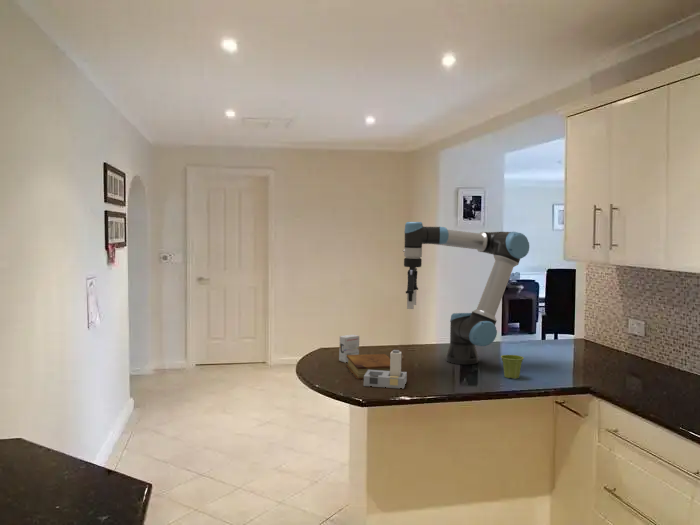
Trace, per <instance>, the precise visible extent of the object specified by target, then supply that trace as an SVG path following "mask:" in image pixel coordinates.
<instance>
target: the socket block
mask: <svg viewBox="0 0 700 525" xmlns="http://www.w3.org/2000/svg"><path fill="white" fill-rule="evenodd" d="M407 377H408V374H407V371H401V377H399V376H390V371H383V370H368V371H367V372H366V374H365V375H364V379H363V387H370V386H372V388H385V387H386V388H385V389H400V388H402V389H405V386H406V385H405V384H407V381H408V380H407V379H408V378H407ZM402 389H401V390H402Z"/></svg>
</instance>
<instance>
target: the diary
mask: <svg viewBox="0 0 700 525" xmlns="http://www.w3.org/2000/svg"><path fill="white" fill-rule="evenodd" d="M347 358H348V362H347V365H346V367H348V368H349V369H348V368H347V369H348V370H349V371H350V373H351V374H352V373H353V374H354V375H353V374H352V375H353V376H354V377H355V379H357V380H364V375H365V374H366V372H367V371H368V370H383V371H390V357H389V356H388V355H387V354H386V353H376V354H375V353H374V354H371V353H370V354H369V353H368V354H359V355H347Z"/></svg>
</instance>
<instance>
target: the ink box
mask: <svg viewBox="0 0 700 525" xmlns="http://www.w3.org/2000/svg"><path fill="white" fill-rule="evenodd" d="M338 347H339V351H338V353H339V354H338V361H340V362H342V363H344V364H346V362H347V363H348V358H347V355H360V335H358V334H357V335H356V334H346V335H340V336H339V346H338Z"/></svg>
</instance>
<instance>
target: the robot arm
mask: <svg viewBox="0 0 700 525" xmlns="http://www.w3.org/2000/svg"><path fill="white" fill-rule="evenodd" d="M423 245H437V246H444V247H445V246H446V247H454V248H462V249H471V250H477V251H478V252H479V253H485V254H488V255H493V258H494V263H493V266H492V268H491V271H490V274H489V276H488V278H487V282H486V283H485V287H484V289H483V292H482V294H481V297H480V300H479V302H478V304H477V307H476V309H474V310H472V311H471V312H456V313H455V312H454V313H452V314H451V315H450V321H449V322H450V327H449V328H450V329H449V330H450V332H449V333H450V334H449V335H450V337H449V346H448V349H447V352H446V354H445V361H446V362H447V361H448V362H447V363H450V362H451V364H454V363H455V364H457V365H474V364H478V363H479V355H478V352H477V349H476V346H477V347H478V346H479V347H487V346H489V345H491V344H492V343H493V342H494V341H495V340H496V338H497V334H498V330H497V327H496V324H497V321H498V320H497V318H496V314H497V312H498V308H499V306H500V303H501V302H502V298H503V296H504V293H505V290H506V287H507V285H508V283H509V280H510V277H511V274H512V273H513V269H514V268H515V267H516V266H517V267H518V265H519V264H520V261H521V259H522V258H523V259H524V257H526V256H527V255H528V254H529V251H530V242H529V239H528V237H527V236H526V235H525V234H524V233H522V232H518V231H488V232H487V231H480V232H470V231H461V230H453V229H448V228H447V227H444V226H424V224H423V222H422V221H407V222H405V224H404V247H403V248H404V249H403V250H402V251H403V253H404V254H403V255H404V259H403V266H404V267H405V268H409V269H408V271H407V285H406V286H407V290H406V291H405V294H407V295H406V299H407V301H406V309H407V310H414V306H417V291H419V287H418V285H417V284H418V282H417V279H418V268H422V261H423V260H422V255H423Z"/></svg>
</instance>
